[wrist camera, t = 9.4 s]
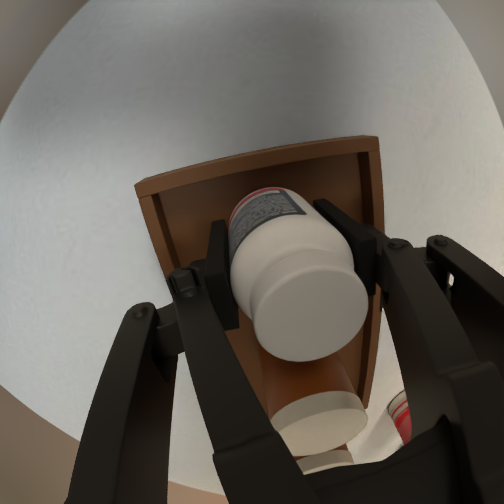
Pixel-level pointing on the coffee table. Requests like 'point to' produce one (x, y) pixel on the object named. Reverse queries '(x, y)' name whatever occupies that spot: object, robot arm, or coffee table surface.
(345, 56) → the coffee table surface
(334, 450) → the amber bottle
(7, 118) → the coffee table surface
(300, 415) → the amber bottle middle
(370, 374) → the tray
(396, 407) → the pill bottle
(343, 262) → the pill bottle
